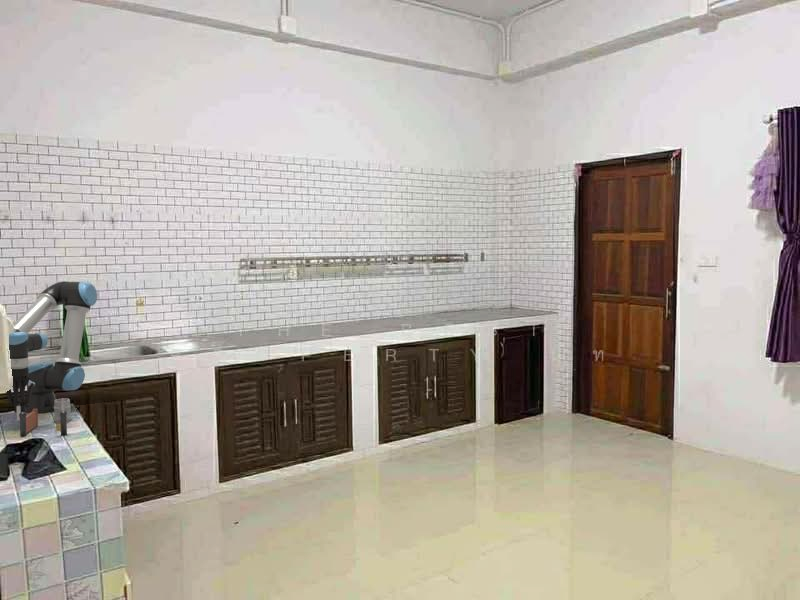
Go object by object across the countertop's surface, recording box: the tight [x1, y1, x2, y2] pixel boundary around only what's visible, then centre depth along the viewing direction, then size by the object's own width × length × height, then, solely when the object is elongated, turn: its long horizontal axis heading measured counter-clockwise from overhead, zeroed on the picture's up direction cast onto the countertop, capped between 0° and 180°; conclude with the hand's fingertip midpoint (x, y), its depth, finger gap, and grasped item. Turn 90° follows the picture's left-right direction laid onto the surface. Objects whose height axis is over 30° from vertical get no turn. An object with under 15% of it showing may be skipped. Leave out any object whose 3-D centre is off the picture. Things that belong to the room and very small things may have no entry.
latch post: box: [55, 411, 68, 437], centre depth 283 cm, size 4×4×11 cm
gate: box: [26, 409, 39, 434], centre depth 288 cm, size 13×2×8 cm, turn 10°
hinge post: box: [19, 412, 28, 438], centre depth 280 cm, size 3×3×11 cm
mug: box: [53, 397, 73, 424], centre depth 303 cm, size 8×12×12 cm, turn 29°
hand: (19, 419), depth 290 cm, fingers closed
